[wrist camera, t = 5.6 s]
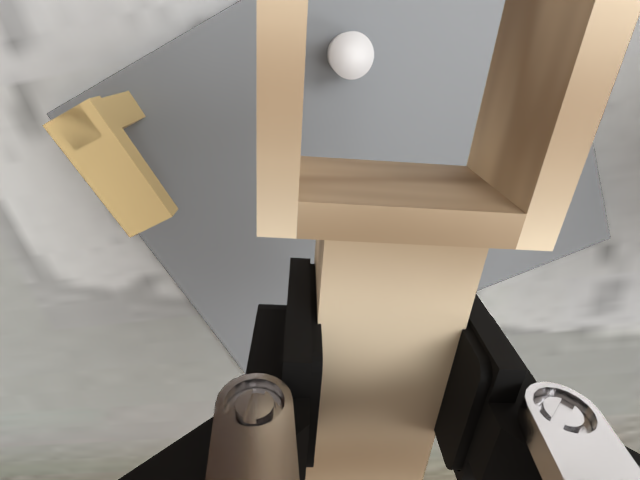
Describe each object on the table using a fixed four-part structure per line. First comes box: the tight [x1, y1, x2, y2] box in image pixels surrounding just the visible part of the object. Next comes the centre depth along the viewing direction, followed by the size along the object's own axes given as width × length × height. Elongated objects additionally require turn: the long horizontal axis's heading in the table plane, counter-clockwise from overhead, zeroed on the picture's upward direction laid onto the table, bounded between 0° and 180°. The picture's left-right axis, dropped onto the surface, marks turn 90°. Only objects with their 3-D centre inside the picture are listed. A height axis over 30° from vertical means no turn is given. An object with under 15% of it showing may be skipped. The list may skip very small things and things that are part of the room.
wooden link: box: [257, 0, 640, 480], centre depth 10 cm, size 17×5×3 cm, turn 176°
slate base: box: [42, 0, 610, 374], centre depth 22 cm, size 22×27×6 cm
